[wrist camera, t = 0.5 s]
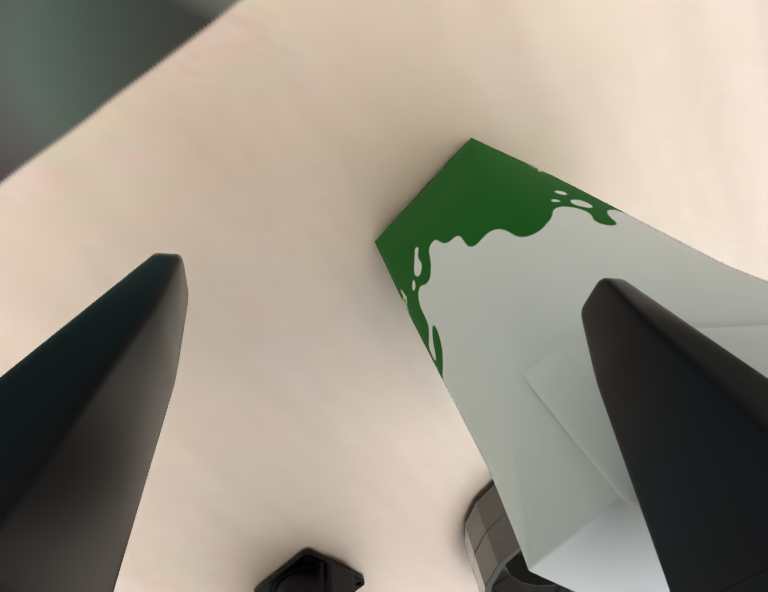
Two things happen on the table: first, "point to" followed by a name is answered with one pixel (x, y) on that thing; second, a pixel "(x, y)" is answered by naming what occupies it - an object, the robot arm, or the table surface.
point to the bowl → (499, 551)
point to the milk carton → (551, 347)
